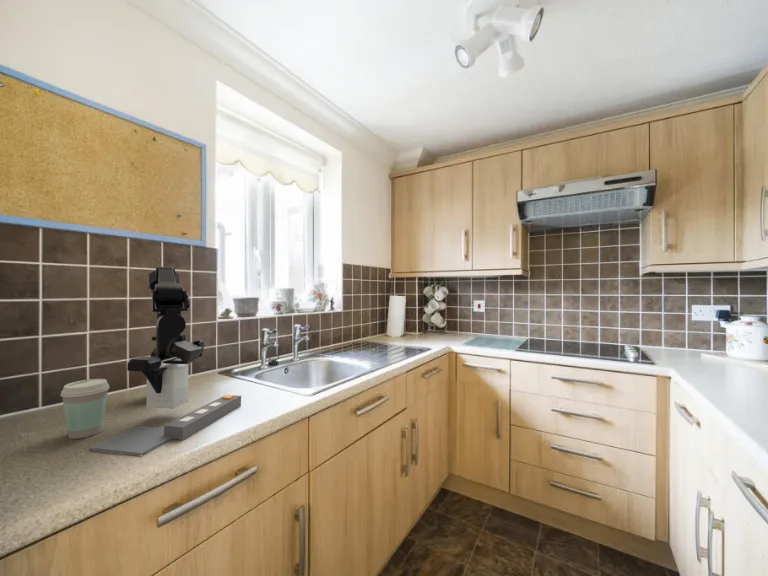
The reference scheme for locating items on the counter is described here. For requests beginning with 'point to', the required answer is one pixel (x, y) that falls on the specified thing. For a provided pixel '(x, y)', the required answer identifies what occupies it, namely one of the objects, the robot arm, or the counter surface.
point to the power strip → (201, 417)
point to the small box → (170, 388)
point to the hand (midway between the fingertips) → (167, 389)
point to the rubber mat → (133, 441)
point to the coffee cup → (84, 407)
